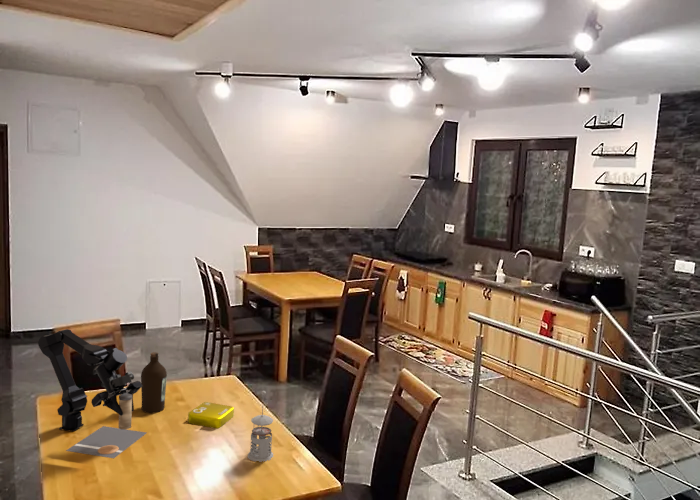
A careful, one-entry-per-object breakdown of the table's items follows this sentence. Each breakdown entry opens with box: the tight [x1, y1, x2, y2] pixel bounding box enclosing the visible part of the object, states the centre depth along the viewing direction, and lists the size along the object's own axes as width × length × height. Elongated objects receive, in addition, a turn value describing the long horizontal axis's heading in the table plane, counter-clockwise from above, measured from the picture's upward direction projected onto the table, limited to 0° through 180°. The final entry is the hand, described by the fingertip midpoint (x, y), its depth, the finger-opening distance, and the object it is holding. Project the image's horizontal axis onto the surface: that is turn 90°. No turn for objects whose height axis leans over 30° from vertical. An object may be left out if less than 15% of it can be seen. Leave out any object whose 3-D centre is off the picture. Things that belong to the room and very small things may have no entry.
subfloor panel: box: [65, 425, 147, 459], centre depth 213 cm, size 19×22×2 cm
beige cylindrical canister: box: [118, 394, 133, 430], centre depth 212 cm, size 5×5×12 cm
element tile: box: [187, 401, 235, 429], centre depth 242 cm, size 15×15×5 cm
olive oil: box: [140, 351, 168, 414], centre depth 248 cm, size 11×11×25 cm
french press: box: [247, 390, 274, 463], centre depth 212 cm, size 10×12×25 cm
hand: (127, 412), depth 211 cm, fingers closed on beige cylindrical canister, 4 cm apart
